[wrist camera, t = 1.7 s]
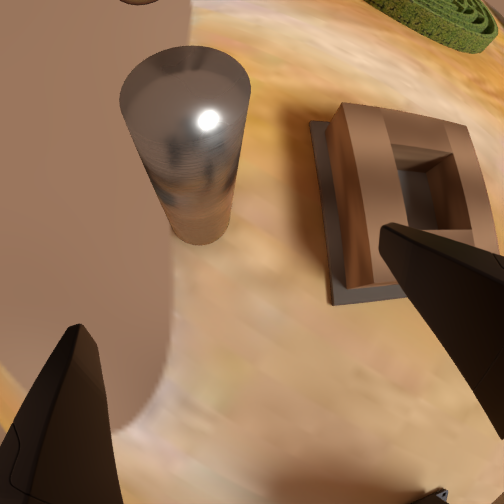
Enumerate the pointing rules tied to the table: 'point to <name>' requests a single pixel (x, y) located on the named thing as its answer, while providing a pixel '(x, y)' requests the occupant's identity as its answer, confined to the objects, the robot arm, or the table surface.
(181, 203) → the steel pin
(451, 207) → the socket block
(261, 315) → the table surface
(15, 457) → the robot arm
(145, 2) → the wooden toy train
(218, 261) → the table surface
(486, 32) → the maze
